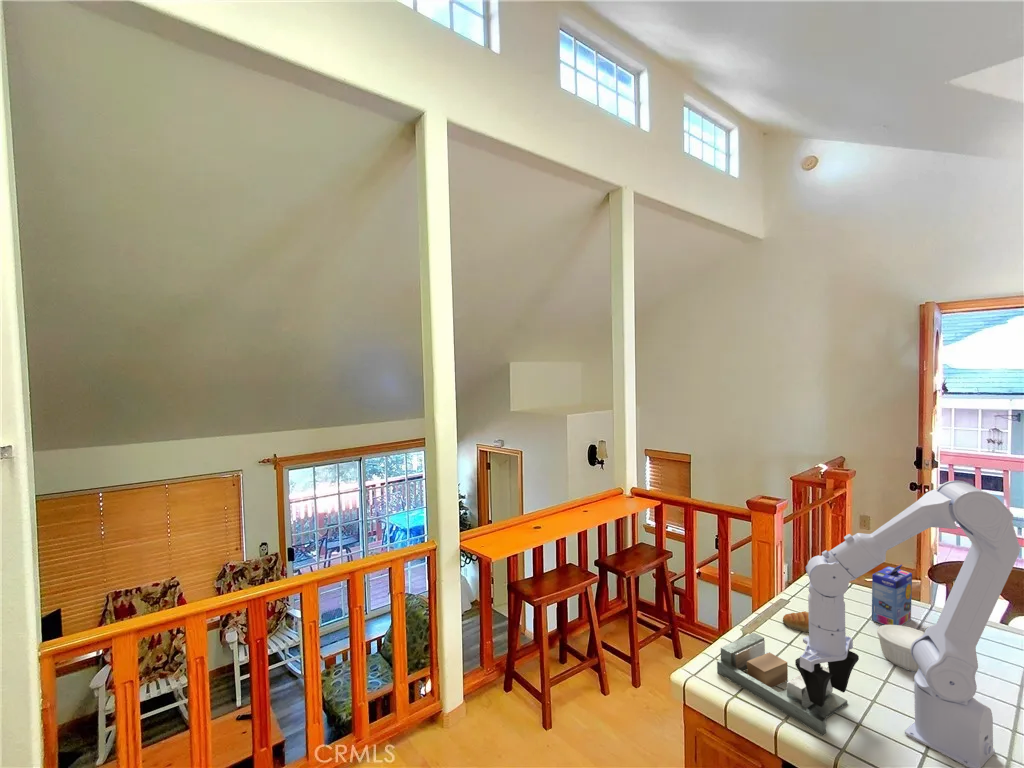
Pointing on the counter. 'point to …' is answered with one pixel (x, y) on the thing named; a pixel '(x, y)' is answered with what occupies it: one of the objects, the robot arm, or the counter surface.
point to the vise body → (736, 663)
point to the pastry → (797, 621)
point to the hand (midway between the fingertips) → (827, 696)
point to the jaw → (802, 690)
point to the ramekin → (899, 644)
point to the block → (768, 669)
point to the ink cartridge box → (891, 596)
